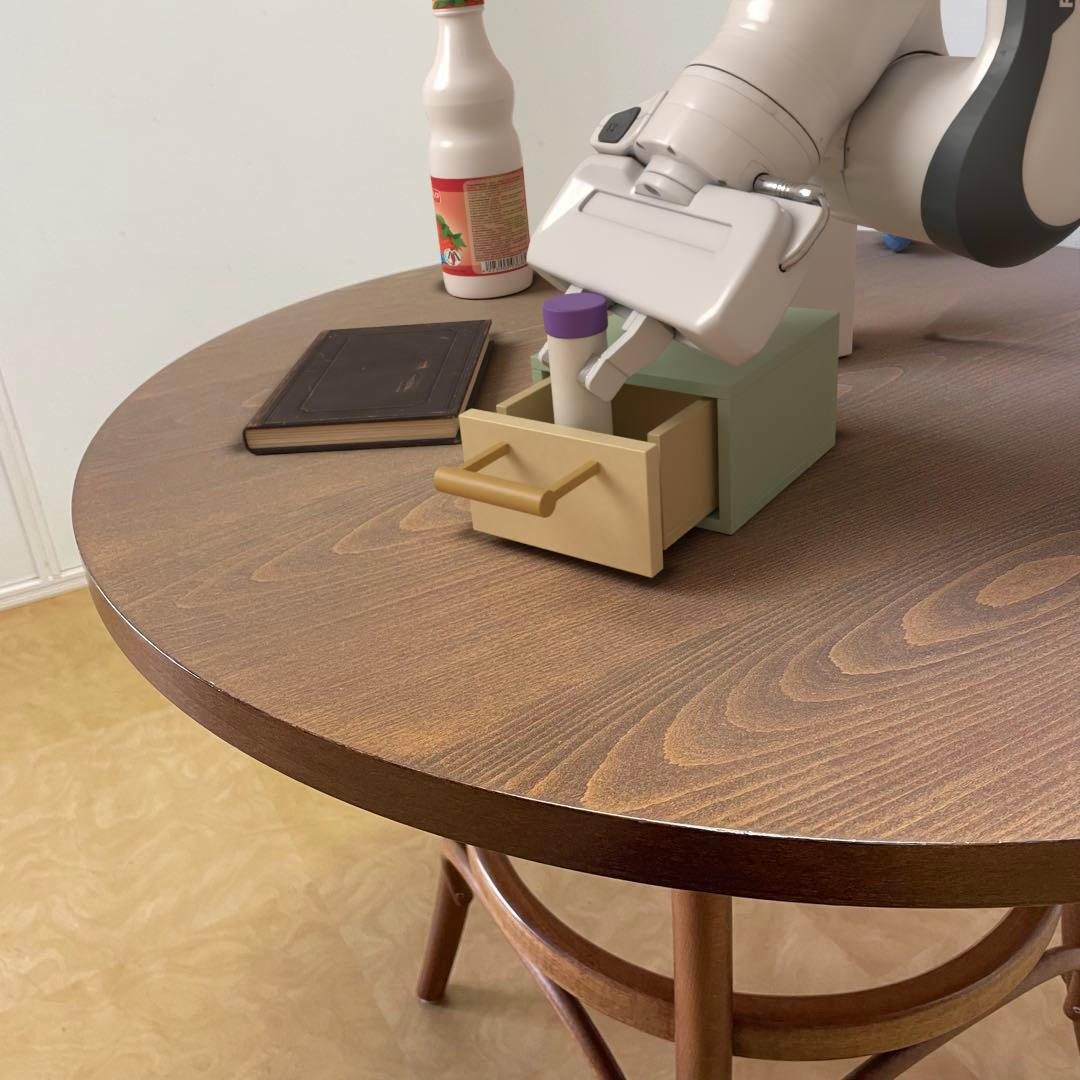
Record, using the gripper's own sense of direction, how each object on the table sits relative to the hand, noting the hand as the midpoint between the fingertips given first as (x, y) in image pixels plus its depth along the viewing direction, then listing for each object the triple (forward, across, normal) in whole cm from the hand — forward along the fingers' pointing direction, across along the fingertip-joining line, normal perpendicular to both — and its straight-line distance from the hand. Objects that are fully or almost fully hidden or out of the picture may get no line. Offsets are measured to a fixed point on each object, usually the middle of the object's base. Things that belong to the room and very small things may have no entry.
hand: (570, 381), depth 61 cm
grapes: (-34, +37, -49) cm, 70 cm away
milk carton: (-14, +19, -28) cm, 37 cm away
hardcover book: (+8, +33, -7) cm, 34 cm away
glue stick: (+3, 0, -4) cm, 5 cm away
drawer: (+6, 0, -7) cm, 9 cm away
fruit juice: (-6, +57, -21) cm, 61 cm away
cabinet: (-1, +5, -15) cm, 16 cm away
